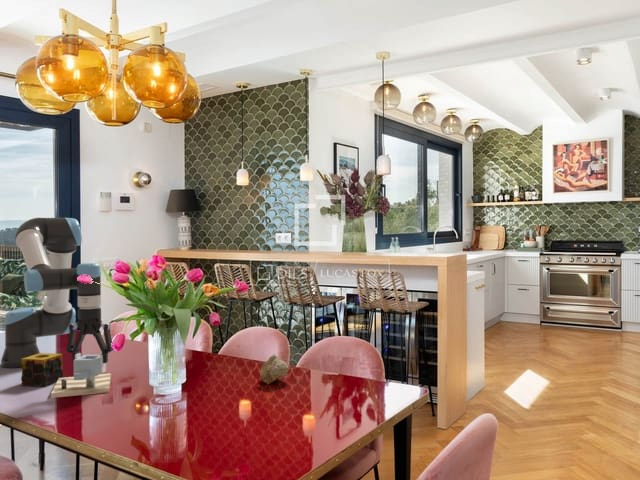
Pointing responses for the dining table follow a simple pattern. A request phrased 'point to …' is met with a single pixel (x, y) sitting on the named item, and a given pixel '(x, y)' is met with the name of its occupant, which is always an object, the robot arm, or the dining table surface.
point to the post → (90, 381)
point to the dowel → (64, 383)
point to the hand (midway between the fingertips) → (90, 372)
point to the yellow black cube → (41, 369)
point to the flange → (86, 366)
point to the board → (81, 386)
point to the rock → (273, 369)
